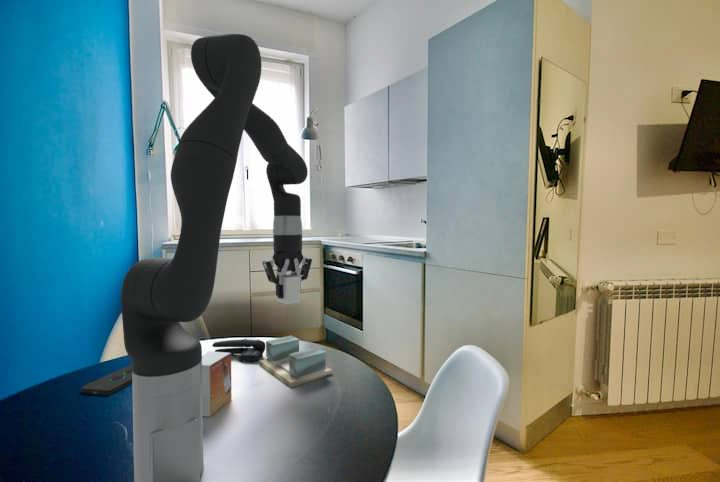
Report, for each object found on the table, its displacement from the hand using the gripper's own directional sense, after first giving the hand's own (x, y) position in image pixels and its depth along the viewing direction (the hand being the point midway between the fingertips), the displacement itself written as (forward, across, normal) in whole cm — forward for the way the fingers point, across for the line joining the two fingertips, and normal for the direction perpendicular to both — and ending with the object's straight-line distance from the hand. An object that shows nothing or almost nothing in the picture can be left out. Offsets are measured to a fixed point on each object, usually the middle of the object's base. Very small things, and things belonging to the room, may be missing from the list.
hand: (288, 296), depth 93 cm
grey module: (+1, 0, 0) cm, 1 cm away
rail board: (+20, +1, -1) cm, 20 cm away
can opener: (+20, -7, +18) cm, 28 cm away
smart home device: (+20, -34, +22) cm, 45 cm away
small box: (+20, -23, -7) cm, 31 cm away
